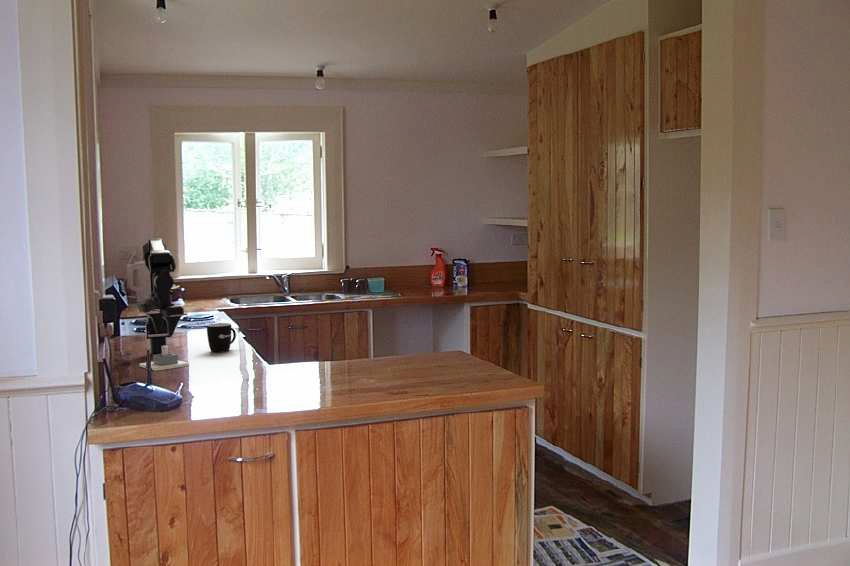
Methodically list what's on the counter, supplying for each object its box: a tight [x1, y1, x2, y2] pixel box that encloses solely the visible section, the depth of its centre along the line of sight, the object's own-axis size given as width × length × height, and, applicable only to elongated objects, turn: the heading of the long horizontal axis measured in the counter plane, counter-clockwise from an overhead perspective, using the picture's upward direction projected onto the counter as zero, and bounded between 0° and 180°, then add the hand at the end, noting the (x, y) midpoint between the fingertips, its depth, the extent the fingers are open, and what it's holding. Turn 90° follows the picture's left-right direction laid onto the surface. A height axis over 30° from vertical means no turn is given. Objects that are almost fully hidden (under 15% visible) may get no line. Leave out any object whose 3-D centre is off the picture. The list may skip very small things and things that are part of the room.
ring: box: [152, 352, 179, 366], centre depth 279 cm, size 6×6×3 cm
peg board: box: [139, 345, 190, 372], centre depth 279 cm, size 12×12×7 cm
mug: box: [206, 322, 237, 354], centre depth 309 cm, size 12×9×10 cm
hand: (164, 334), depth 278 cm, fingers open, 9 cm apart
